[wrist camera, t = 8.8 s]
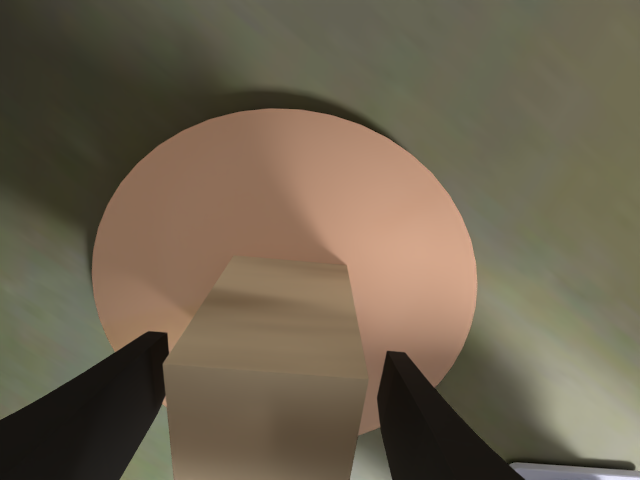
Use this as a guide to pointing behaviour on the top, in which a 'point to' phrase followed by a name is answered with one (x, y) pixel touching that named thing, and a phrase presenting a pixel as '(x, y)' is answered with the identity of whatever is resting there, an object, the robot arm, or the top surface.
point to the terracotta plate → (290, 233)
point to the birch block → (268, 376)
